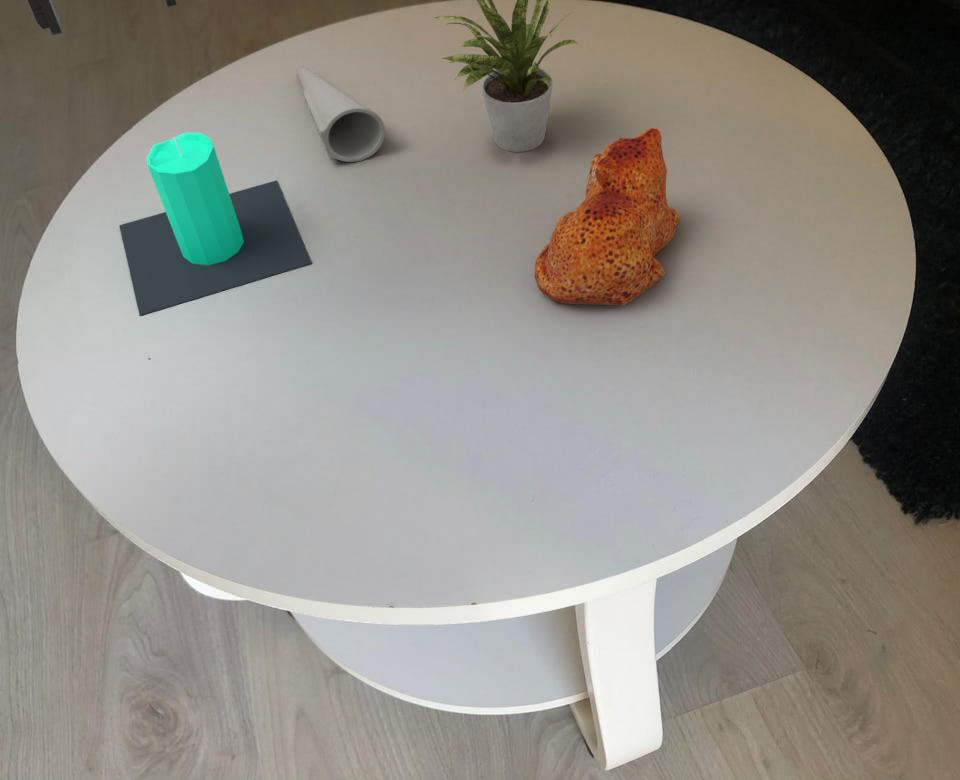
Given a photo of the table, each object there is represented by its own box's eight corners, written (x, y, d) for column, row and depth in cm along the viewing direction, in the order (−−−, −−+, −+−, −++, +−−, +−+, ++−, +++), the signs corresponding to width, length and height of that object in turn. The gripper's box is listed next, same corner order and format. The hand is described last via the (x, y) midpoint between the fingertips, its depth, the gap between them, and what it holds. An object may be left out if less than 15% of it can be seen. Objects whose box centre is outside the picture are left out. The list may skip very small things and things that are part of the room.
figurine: (591, 196, 95) (592, 104, 88) (698, 225, 91) (708, 132, 84) (516, 295, 87) (511, 203, 79) (630, 333, 83) (636, 239, 75)
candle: (247, 221, 96) (213, 114, 87) (240, 262, 92) (204, 154, 83) (186, 227, 97) (146, 120, 88) (176, 268, 93) (133, 160, 84)
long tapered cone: (354, 75, 116) (392, 149, 102) (302, 93, 116) (333, 170, 102) (338, 29, 112) (375, 99, 98) (285, 48, 112) (314, 121, 98)
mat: (139, 316, 89) (139, 315, 89) (119, 226, 98) (119, 225, 98) (311, 263, 92) (311, 262, 92) (277, 181, 101) (276, 180, 101)
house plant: (462, 91, 109) (447, -57, 97) (588, 93, 107) (589, -58, 95) (438, 169, 100) (418, 16, 88) (575, 174, 98) (575, 17, 86)
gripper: (131, -264, 66) (198, -26, 78) (-92, -223, 64) (14, 17, 76) (147, -234, 62) (216, 15, 74) (-92, -188, 59) (20, 62, 71)
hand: (114, 16), depth 75 cm, fingers open, 8 cm apart
